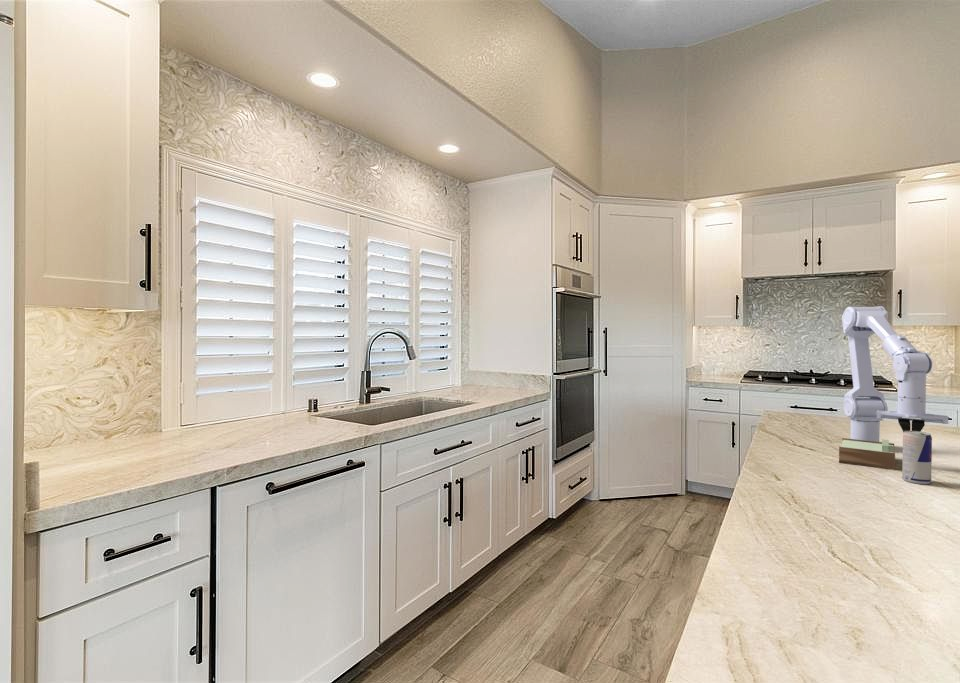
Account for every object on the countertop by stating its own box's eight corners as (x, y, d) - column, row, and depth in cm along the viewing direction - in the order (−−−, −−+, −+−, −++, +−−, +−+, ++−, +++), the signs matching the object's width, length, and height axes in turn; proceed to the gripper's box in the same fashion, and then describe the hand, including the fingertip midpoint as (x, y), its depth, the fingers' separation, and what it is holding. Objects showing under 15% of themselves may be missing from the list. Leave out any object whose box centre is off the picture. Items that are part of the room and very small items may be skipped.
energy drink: (937, 484, 119) (938, 435, 119) (914, 484, 119) (915, 435, 119) (918, 478, 125) (918, 430, 124) (896, 478, 125) (897, 430, 124)
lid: (843, 441, 149) (843, 434, 149) (893, 447, 142) (893, 439, 142) (840, 450, 139) (840, 441, 139) (893, 456, 132) (894, 447, 132)
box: (842, 452, 150) (842, 438, 150) (894, 458, 142) (894, 443, 142) (838, 462, 139) (839, 447, 139) (894, 470, 131) (895, 453, 131)
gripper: (876, 396, 136) (876, 446, 136) (949, 401, 127) (948, 454, 127) (877, 393, 141) (876, 441, 142) (947, 398, 132) (946, 448, 132)
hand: (910, 447), depth 135 cm, fingers closed
